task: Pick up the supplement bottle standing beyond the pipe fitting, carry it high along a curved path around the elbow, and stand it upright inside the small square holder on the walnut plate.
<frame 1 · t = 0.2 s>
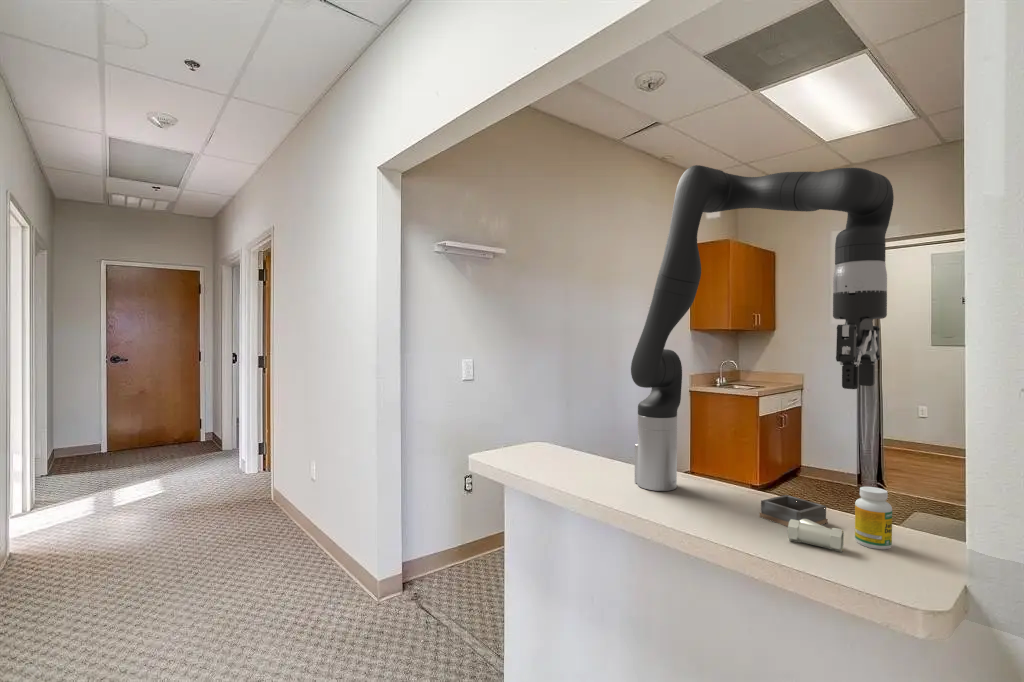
hand: (858, 387, 86), 28 cm above the table, tool pointing down, fingers open, 8 cm apart
pipe fitting: (816, 544, 91), on the table
square holder: (792, 519, 102), on the table
supplement bottle: (873, 545, 90), on the table
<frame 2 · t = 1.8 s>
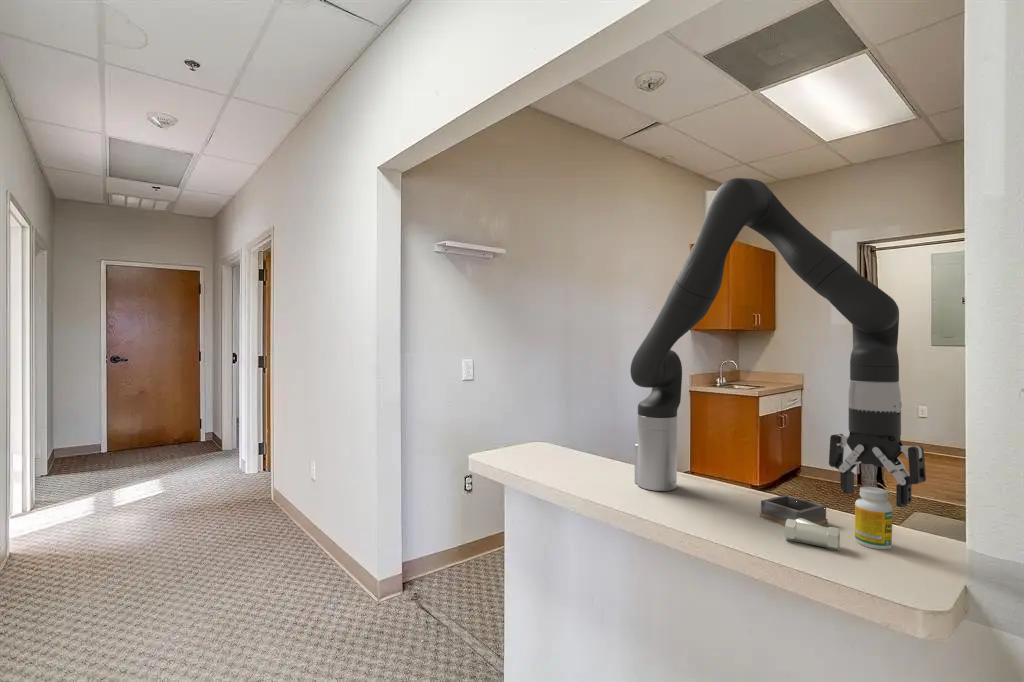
hand: (874, 499, 90), 8 cm above the table, tool pointing down, fingers open, 8 cm apart
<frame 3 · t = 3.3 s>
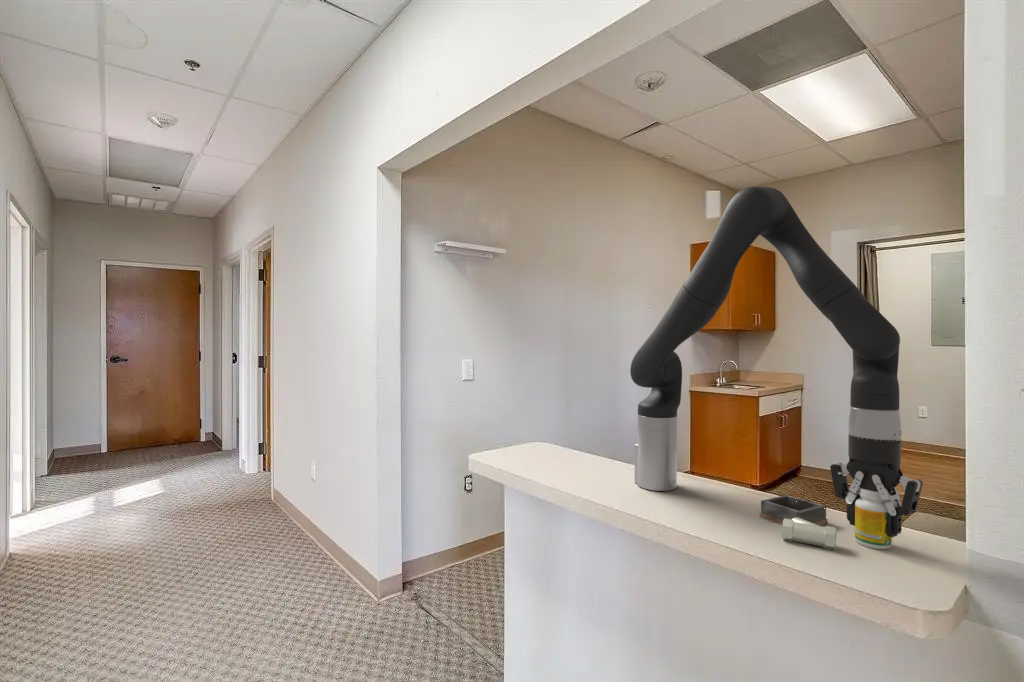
hand: (873, 529, 90), 2 cm above the table, tool pointing down, fingers closed on supplement bottle, 5 cm apart
supplement bottle: (873, 545, 90), on the table, touching gripper
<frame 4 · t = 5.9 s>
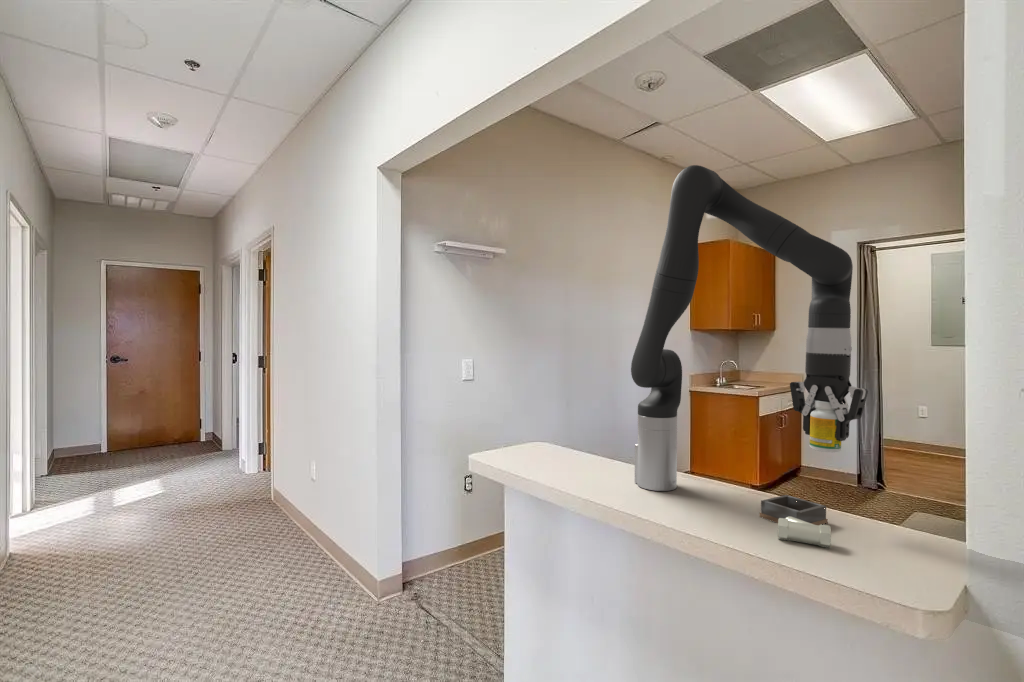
hand: (825, 436, 101), 17 cm above the table, tool pointing down, fingers closed on supplement bottle, 5 cm apart
supplement bottle: (824, 450, 101), point 14 cm above the table, touching gripper
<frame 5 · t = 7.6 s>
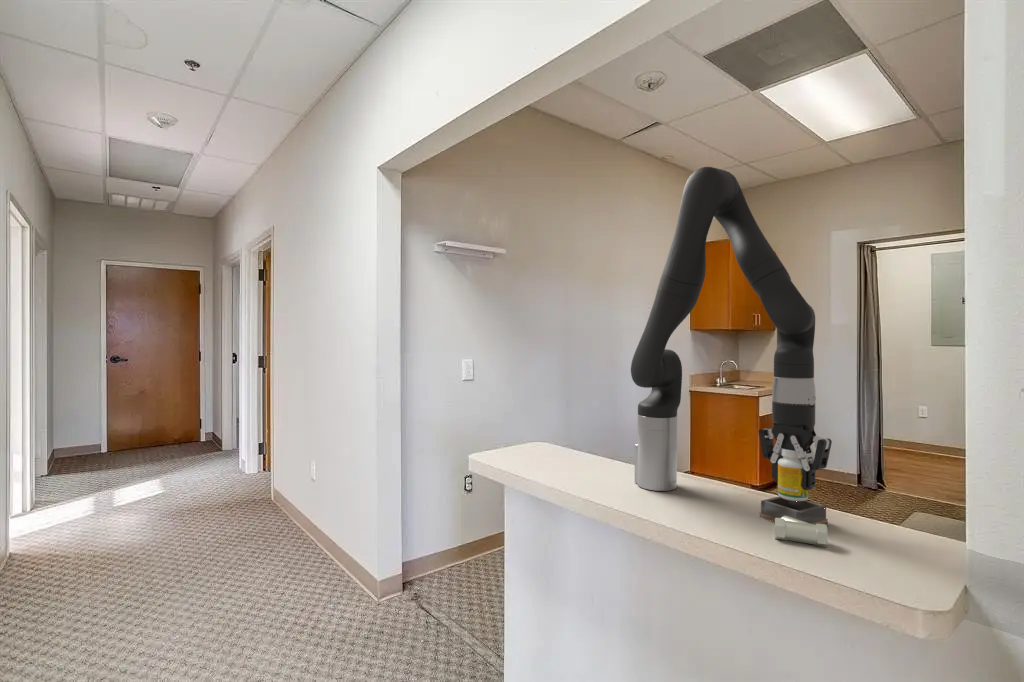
hand: (793, 485, 102), 7 cm above the table, tool pointing down, fingers closed on supplement bottle, 5 cm apart
supplement bottle: (792, 498, 102), point 4 cm above the table, touching gripper
when the fingers open (5 cm above the table, at t = 8.9 s): supplement bottle drops 1 cm, resting on square holder.
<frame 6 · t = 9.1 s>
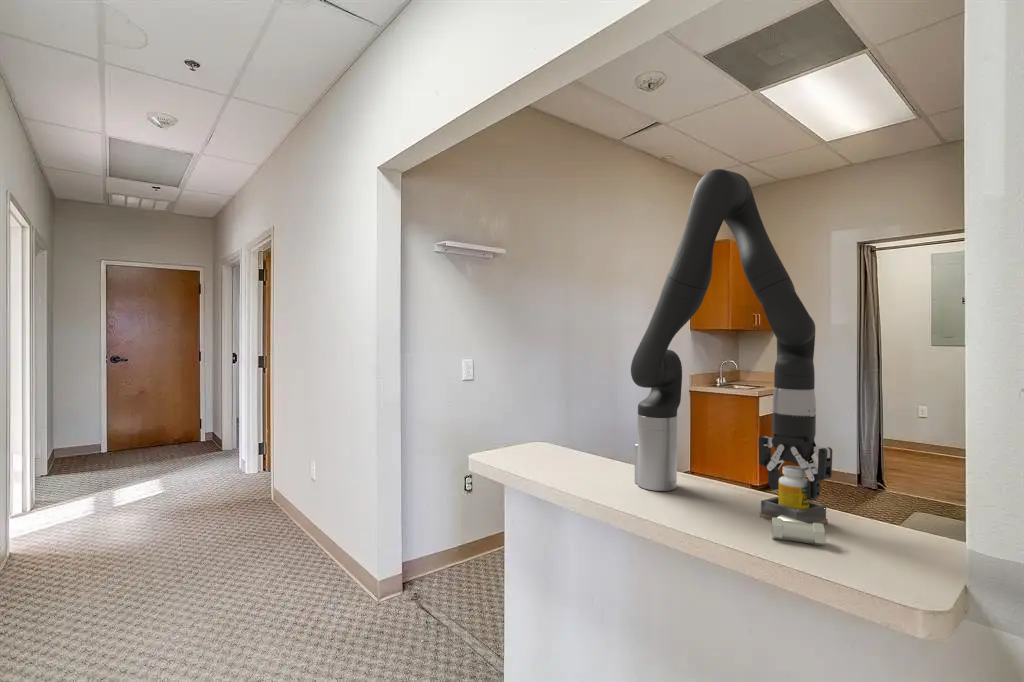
hand: (793, 494, 102), 5 cm above the table, tool pointing down, fingers open, 7 cm apart
supplement bottle: (793, 516, 102), point 1 cm above the table, touching square holder
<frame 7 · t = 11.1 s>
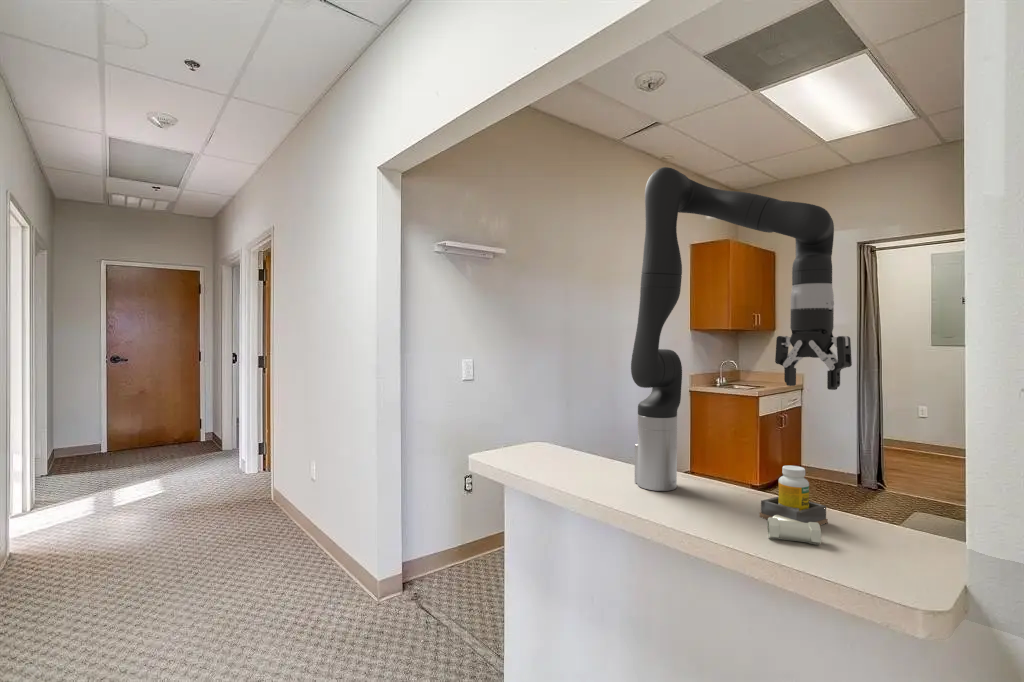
hand: (811, 387, 104), 26 cm above the table, tool pointing down, fingers open, 8 cm apart
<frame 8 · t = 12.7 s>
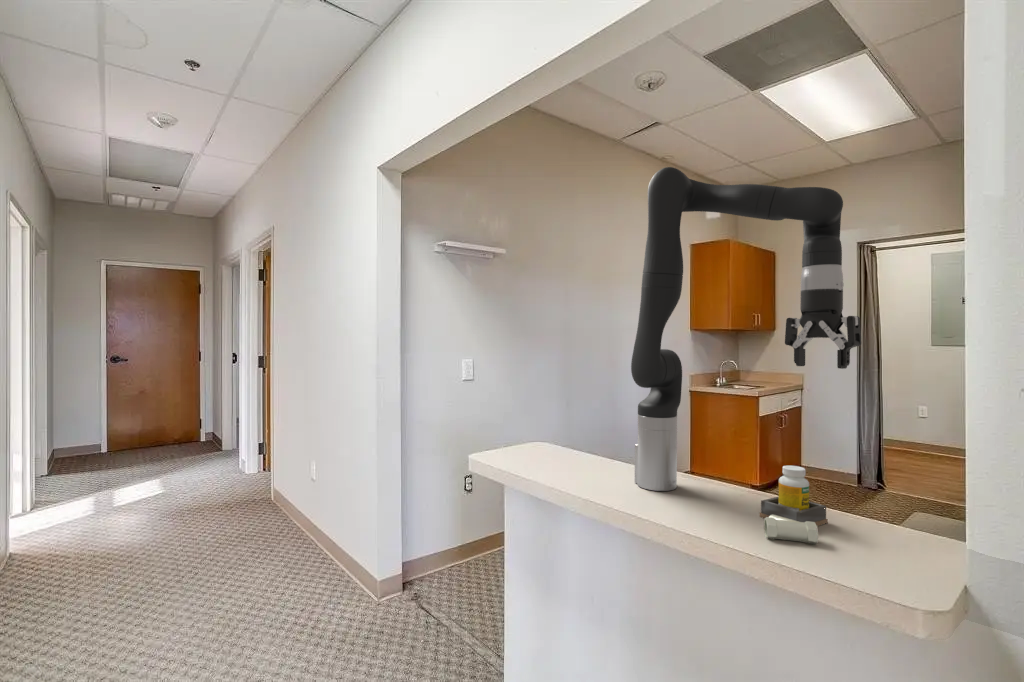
hand: (820, 367, 106), 30 cm above the table, tool pointing down, fingers open, 8 cm apart
at the end: supplement bottle 0.1 cm off-centre on the square holder, point 0.6 cm above the square holder's base; supplement bottle tilted 0°; the gripper is holding nothing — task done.
